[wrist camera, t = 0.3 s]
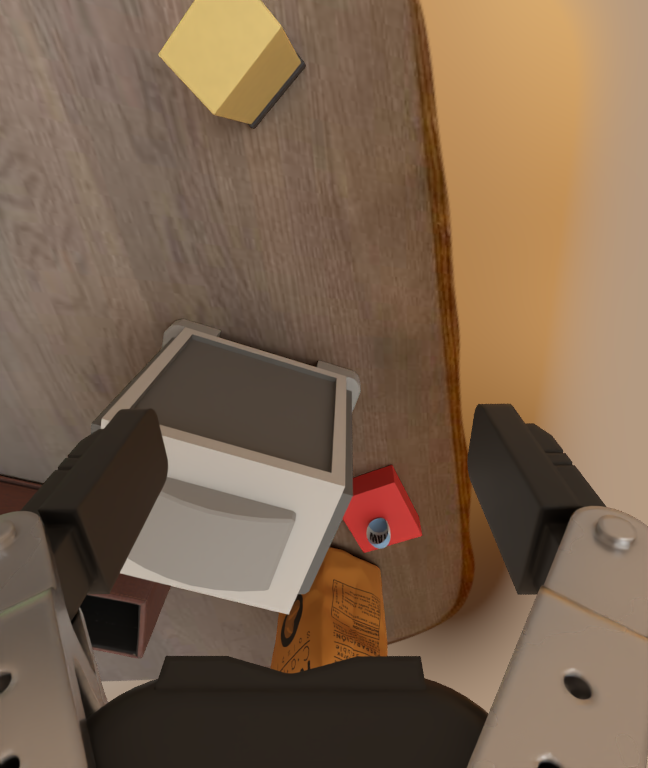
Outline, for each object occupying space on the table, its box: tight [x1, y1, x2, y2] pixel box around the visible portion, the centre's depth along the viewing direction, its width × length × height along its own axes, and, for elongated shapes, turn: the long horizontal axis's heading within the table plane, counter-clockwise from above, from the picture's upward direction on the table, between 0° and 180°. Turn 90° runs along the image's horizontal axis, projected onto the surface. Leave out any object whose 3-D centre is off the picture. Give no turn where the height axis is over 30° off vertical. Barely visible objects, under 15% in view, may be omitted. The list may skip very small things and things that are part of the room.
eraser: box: [159, 0, 306, 129], centre depth 26 cm, size 4×6×11 cm
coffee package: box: [271, 547, 387, 673], centre depth 46 cm, size 10×12×22 cm
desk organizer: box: [0, 476, 171, 658], centre depth 48 cm, size 10×29×11 cm, turn 76°
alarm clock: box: [91, 319, 361, 615], centre depth 36 cm, size 18×13×18 cm
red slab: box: [343, 465, 422, 553], centre depth 46 cm, size 8×7×6 cm
